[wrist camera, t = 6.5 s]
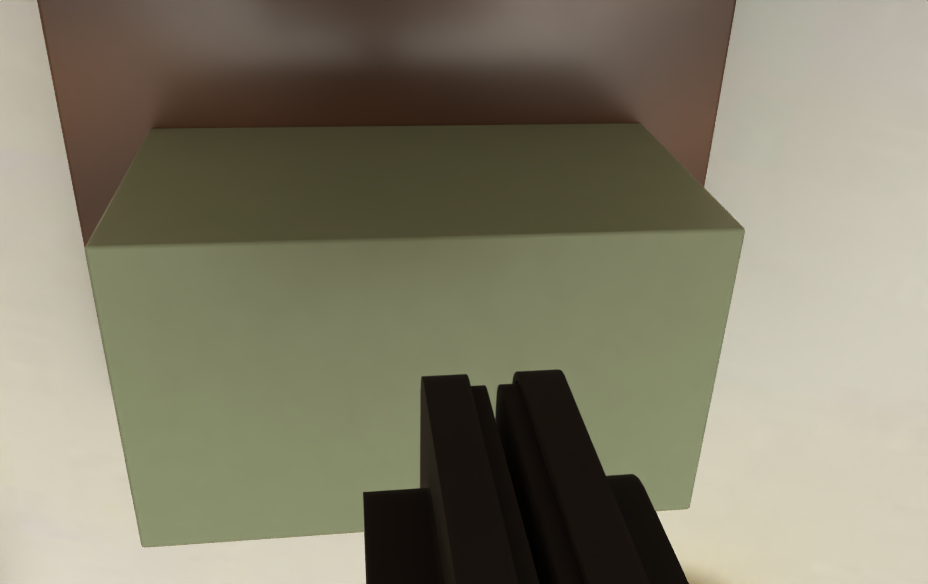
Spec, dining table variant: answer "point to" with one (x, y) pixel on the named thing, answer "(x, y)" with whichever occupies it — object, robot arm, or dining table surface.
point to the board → (376, 70)
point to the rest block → (395, 308)
